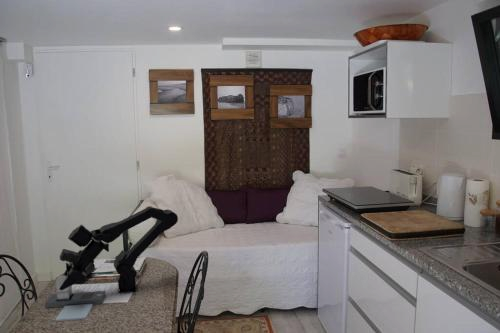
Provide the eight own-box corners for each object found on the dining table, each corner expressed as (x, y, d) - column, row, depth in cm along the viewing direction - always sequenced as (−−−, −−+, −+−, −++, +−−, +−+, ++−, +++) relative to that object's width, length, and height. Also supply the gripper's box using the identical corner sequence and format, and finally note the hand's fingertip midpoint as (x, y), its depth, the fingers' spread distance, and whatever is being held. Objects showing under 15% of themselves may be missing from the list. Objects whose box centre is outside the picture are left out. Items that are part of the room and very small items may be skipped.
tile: (93, 305, 145) (92, 303, 145) (85, 319, 135) (85, 317, 135) (64, 307, 144) (64, 305, 143) (55, 321, 134) (55, 319, 134)
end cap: (81, 284, 163) (80, 269, 162) (67, 283, 165) (65, 268, 164) (95, 274, 173) (94, 260, 172) (81, 273, 174) (80, 259, 174)
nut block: (72, 299, 150) (70, 275, 148) (69, 304, 146) (67, 279, 144) (61, 300, 149) (59, 275, 148) (57, 305, 145) (55, 280, 144)
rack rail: (105, 295, 153) (105, 290, 152) (101, 304, 146) (101, 298, 146) (52, 299, 150) (51, 294, 150) (45, 308, 143) (44, 302, 143)
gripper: (70, 235, 154) (41, 266, 150) (74, 249, 138) (41, 285, 134) (93, 250, 159) (65, 281, 155) (99, 266, 143) (68, 301, 139)
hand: (60, 286), depth 146 cm, fingers closed on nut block, 5 cm apart
